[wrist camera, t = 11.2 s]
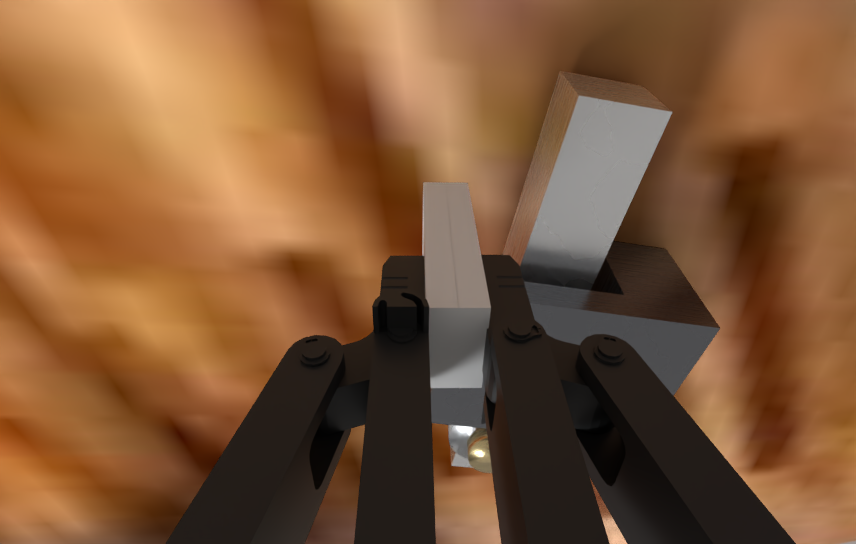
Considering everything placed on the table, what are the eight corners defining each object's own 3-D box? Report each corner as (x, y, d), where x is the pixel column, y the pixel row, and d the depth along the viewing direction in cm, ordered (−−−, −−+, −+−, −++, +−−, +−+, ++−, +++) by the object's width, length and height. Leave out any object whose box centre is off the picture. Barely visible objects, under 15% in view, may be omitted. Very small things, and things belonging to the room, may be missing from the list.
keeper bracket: (564, 436, 35) (586, 520, 30) (403, 419, 33) (400, 504, 29) (666, 249, 26) (720, 328, 21) (450, 216, 24) (457, 293, 20)
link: (511, 429, 33) (518, 471, 31) (438, 422, 33) (439, 464, 30) (659, 88, 20) (691, 115, 18) (542, 67, 20) (559, 92, 17)
